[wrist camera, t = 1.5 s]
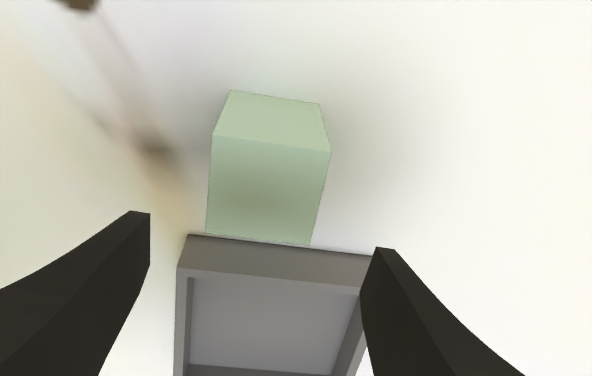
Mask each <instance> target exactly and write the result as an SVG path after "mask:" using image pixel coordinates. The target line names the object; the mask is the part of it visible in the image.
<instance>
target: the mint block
mask: <svg viewBox="0 0 592 376" xmlns="http://www.w3.org/2000/svg"><path fill="white" fill-rule="evenodd" d="M331 154H332V151H331V147H330V143H329V140H328V136H327V132H326V128H325V125H324V121H323V117H322V114H321V110H320V106H319V104H315V103H309V102H303V101H297V100H290V99H284V98H278V97H272V96H266V95H260V94H254V93H247V92H241V91H235V90H231V91H230V93H229V96H228V98H227V101H226V103H225V105H224V108H223V110H222V112H221V115H220V117H219V120H218V122H217V124H216V127H215V129H214V131H213V134H212V145H211V159H210V172H209V186H208V199H207V213H206V227H205V233H210V234H219V235H227V236H235V237H243V238H252V239H260V240H268V241H277V242H285V243H293V244H301V245H310V241H311V237H312V233H313V229H314V224H315V220H316V216H317V212H318V208H319V204H320V200H321V195H322V191H323V187H324V183H325V179H326V175H327V170H328V166H329V162H330V158H331Z"/></svg>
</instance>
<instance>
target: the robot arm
mask: <svg viewBox="0 0 592 376" xmlns="http://www.w3.org/2000/svg"><path fill="white" fill-rule="evenodd" d="M149 266H150V213H143V212H137V211H128V212H127V213H126V214H124V215H123V216H121V217H120V218H118V219H117V220H115V221H114V222H112V223H111V224H110V225H108V226H107V227H105V228H104V229H103V230H101V231H100V232H98V233H97V234H95V235H94V236H92V237H91V238H89V239H88V240H87V241H85V242H84V243H82V244H81V245H79V246H78V247H76V248H75V249H73V250H71V251H70V252H68V253H66V254H65V255H63V256H61V257H60V258H58V259H57V260H55V261H53V262H52V263H50V264H48V265H47V266H45V267H43V268H41V269H39V270H38V271H36V272H34V273H32V274H30V275H28V276H26V277H24V278H22V279H20V280H18V281H16V282H14V283H12V284H10V285H8V286H6V287H4V288H2V289H0V376H98V375H99V372H100V370H101V368H102V366H103V364H104V362H105V359H106V357H107V355H108V354H109V352H110V350H111V348H112V346H113V344H114V342H115V340H116V338H117V336H118V334H119V332H120V330H121V328H122V327H123V325H124V323H125V321H126V319H127V317H128V315H129V313H130V311H131V309H132V307H133V305H134V303H135V301H136V299H137V297H138V295H139V293H140V291H141V288H142V285H143V283H144V280H145V277H146V274H147V271H148V268H149ZM359 295H360V308H361V318H362V324H363V329H364V334H365V338H366V343H367V347H368V351H369V356H370V360H371V365H372V369H373V373H374V376H525V375H524V374H522V373H521V372H519V371H518V370H517V369H516V368H514V367H513V366H512V365H510V364H509V363H508V362H507V361H505V360H504V359H503V358H501V357H500V356H499V355H498V354H496V353H495V352H494V351H493V350H491V349H490V348H489V347H488V346H487V345H486V344H484V343H483V342H482V341H481V340H480V339H479V338H478V337H476V336H475V335H474V334H473V333H472V332H471V331H470V330H469V329H467V328H466V327H465V326H464V325H463V324H462V323H461V322H460V321H459V320H458V319H457V318H456V317H455V316H454V315H453V314H452V313H451V312H450V311H449V310H448V309H447V308H446V307H445V306H444V305H443V304H442V303H441V302H440V300H439V299H438V298H437V297H436V296H435V295H434V294H433V293H432V292H431V291H430V290H429V288H428V287H427V286H426V285H425V284H424V283H423V282H422V280H421V279H420V278H419V277H418V276H417V275H416V274H415V272H414V271H413V270H412V269H411V268H410V267H409V265H408V264H407V263H406V262H405V261H404V260H403V258H402V257H401V256H400V255H399V254H398V253H397V252H396V251H395V250H394V249H389V248H382V247H376V248H375V251H374V254H373V257H372V259H371V262H370V265H369V267H368V270H367V273H366V275H365V278H364V281H363V284H362V286H361V289H360V292H359Z"/></svg>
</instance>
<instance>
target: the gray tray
mask: <svg viewBox="0 0 592 376" xmlns="http://www.w3.org/2000/svg"><path fill="white" fill-rule="evenodd" d="M372 257H373V256H366V255H357V254H349V253H340V252H332V251H324V250H315V249H307V248H299V247H290V246H282V245H273V244H265V243H257V242H248V241H240V240H232V239H223V238H215V237H206V236H198V235H190V234H188V236H187V239H186V242H185V245H184V248H183V251H182V253H181V256H180V259H179V262H178V265H177V269H176V301H175V333H174V365H173V376H355V375H356V372H357V369H358V367H359V364H360V362H361V359H362V357H363V354H364V352H365V349H366V347H367V343H366V338H365V334H364V329H363V324H362V318H361V308H360V295H359V292H360V289H361V286H362V284H363V281H364V278H365V275H366V273H367V270H368V267H369V265H370V262H371V259H372Z"/></svg>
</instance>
